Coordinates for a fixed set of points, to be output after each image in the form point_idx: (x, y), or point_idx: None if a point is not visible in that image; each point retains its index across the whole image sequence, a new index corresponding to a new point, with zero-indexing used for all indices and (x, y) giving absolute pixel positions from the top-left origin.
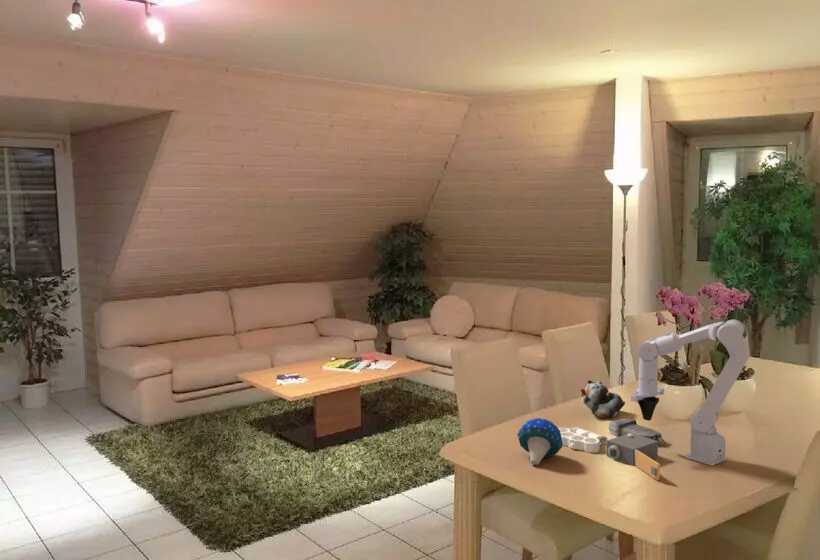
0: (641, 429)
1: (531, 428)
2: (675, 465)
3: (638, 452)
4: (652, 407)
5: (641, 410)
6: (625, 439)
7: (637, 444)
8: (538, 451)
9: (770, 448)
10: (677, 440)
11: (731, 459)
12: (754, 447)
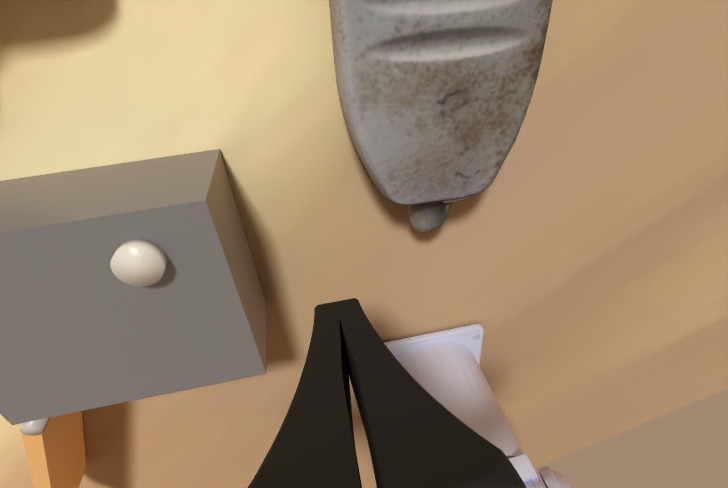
0: (447, 62)
1: None
2: (265, 386)
3: (26, 449)
4: (376, 484)
5: (302, 376)
6: (54, 292)
7: (93, 378)
8: None
9: (684, 367)
10: (564, 179)
11: (494, 395)
12: (666, 348)
